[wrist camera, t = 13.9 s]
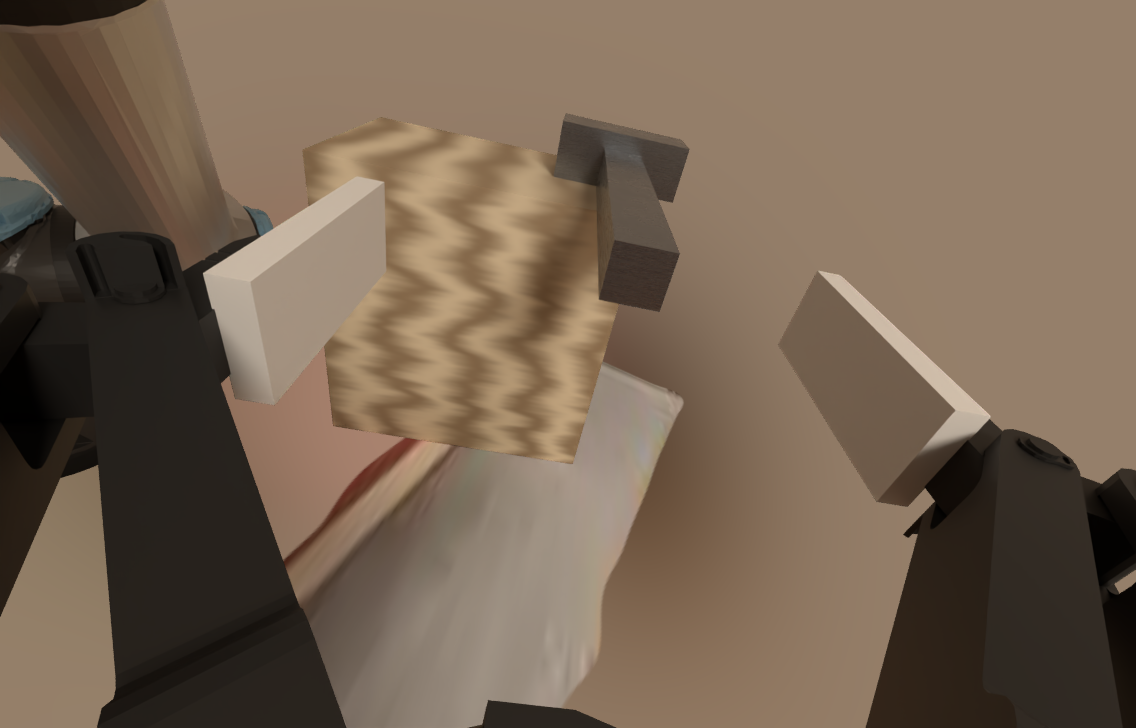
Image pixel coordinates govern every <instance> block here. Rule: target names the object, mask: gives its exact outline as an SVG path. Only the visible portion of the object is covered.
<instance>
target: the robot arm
mask: <svg viewBox="0 0 1136 728" xmlns="http://www.w3.org/2000/svg"><path fill="white" fill-rule="evenodd" d="M0 136H1V138H2V139H3V140H4V141H5V142H6V143H7V144H8V145H9V147H10V148H11V149H12V150H13V151H14V152H15V153H16V154H17V155H18V156H19V158H20V159H21V160H22V161H23V162H24V163H25V164H26V165H27V166H28V167H29V169H30V170H31V171H32V172H33V173H34V174H35V175H36V176H37V177H38V178H39V180H40V181H41V182H42V183H43V184H44V185H45V186H46V187H47V188H48V189H49V191H50V192H51V193H52V194H53V195H54V196H55V197H56V198H57V199H58V200H59V202H60V203H61V204H62V205H55V204H54V201H53V198H52V197H51V195H50V194H48V193H47V192H46V191H45V189H44V188H43V187H41V186H40V185H38V184H36V183H34V182H31V181H27V180H18V179H16V178H11V177H10V178H9V177H0V616H1V614H2V612H3V609H4V607H5V605H6V602H7V600H8V598H9V595H10V593H11V591H12V588H13V586H14V584H15V581H16V579H17V577H18V574H19V572H20V570H21V567H22V565H23V563H24V561H25V558H26V556H27V553H28V551H29V549H30V546H31V544H32V542H33V540H34V537H35V535H36V533H37V530H38V528H39V526H40V523H41V521H42V519H43V517H44V514H45V512H46V510H47V507H48V505H49V503H50V500H51V498H52V496H53V493H54V491H55V489H56V486H57V484H58V482H59V479H60V478H62V477H65V476H69V475H72V474H75V473H78V472H81V471H84V470H86V469H89V468H91V467H94V466H96V465H98V468H99V480H100V491H101V504H102V516H103V528H104V540H105V553H106V565H107V577H108V590H109V602H110V613H111V626H112V638H113V651H114V662H115V675H116V690H115V695H114V699H113V700H111V701H110V702H109V703H108V704H106V705H105V706H104V707H103V708H102V710H101V714H100V718H99V721H98V725H97V728H346V725H345V722H344V720H343V717H342V714H341V711H340V708H339V706H338V703H337V700H336V697H335V694H334V692H333V689H332V686H331V683H330V680H329V678H328V675H327V672H326V669H325V666H324V664H323V661H322V658H321V655H320V652H319V650H318V647H317V644H316V641H315V638H314V636H313V633H312V630H311V628H310V625H309V622H308V620H307V617H306V615H305V613H304V611H303V609H302V608H300V606H299V604H298V601H297V599H296V596H295V593H294V591H293V588H292V585H291V582H290V579H289V576H288V574H287V571H286V568H285V565H284V562H283V559H282V557H281V554H280V551H279V548H278V545H277V543H276V540H275V537H274V534H273V531H272V528H271V525H270V522H269V520H268V517H267V514H266V511H265V508H264V505H263V503H262V500H261V497H260V494H259V491H258V488H257V486H256V483H255V480H254V477H253V474H252V471H251V469H250V466H249V463H248V460H247V457H246V454H245V451H244V449H243V446H242V443H241V440H240V438H239V434H238V432H237V429H236V426H235V423H234V420H233V417H232V415H231V412H230V409H229V406H228V403H227V400H226V397H225V395H224V392H223V389H222V386H221V383H222V382H223V381H224V380H225V379H226V378H227V377H228V376H229V377H230V381H231V385H232V389H233V392H234V396H235V399H240V400H246V401H252V402H258V403H264V404H271V405H275V404H276V403H277V402H278V401H279V400H280V398H281V397H282V396H283V395H284V393H285V392H286V391H287V390H288V389H289V388H290V386H291V385H292V384H293V383H294V381H295V380H296V379H297V378H298V377H299V375H300V374H301V373H302V372H303V371H304V369H305V368H306V367H307V366H308V365H309V363H310V362H311V361H312V360H313V359H314V357H315V356H316V355H317V354H318V353H319V351H320V350H321V349H322V348H323V346H324V345H325V344H326V343H327V342H328V341H329V339H330V338H331V337H332V336H333V335H334V333H335V332H336V331H337V330H338V328H339V327H340V326H341V325H342V324H343V322H344V321H345V320H346V319H347V318H348V316H349V315H350V314H351V313H352V312H353V310H354V309H355V308H356V307H357V306H358V304H359V303H360V302H361V301H362V300H363V298H364V297H365V296H366V295H367V294H368V292H369V291H370V290H371V289H372V288H373V286H374V285H375V284H376V283H377V282H378V280H379V279H380V278H381V277H382V275H383V274H384V273H385V272H386V234H385V186H384V182H382V181H377V180H372V179H368V178H363V177H358V176H357V177H355V178H353V179H352V180H350V181H349V182H347V183H345V184H344V185H342V186H341V187H339V188H337V189H336V190H334V191H333V192H331V193H330V194H328V195H326V196H325V197H323V198H322V199H320V200H318V201H317V202H315V203H314V204H312V205H310V206H309V207H307V208H306V209H304V210H302V211H301V212H299V213H298V214H296V215H295V216H293V217H291V218H290V219H288V220H287V221H285V222H283V223H282V224H280V225H279V226H277V227H275V228H274V229H273V225H272V223H271V221H270V218H269V217H268V215H267V214H266V213H265V212H263V211H261V210H259V209H251V208H249V207H247V206H242V205H241V204H240V203H239V202H238V201H237V200H236V199H235V198H233V197H232V196H231V195H230V194H229V193H227V192H226V191H224V190H223V189H222V187H221V184H220V181H219V178H218V175H217V171H216V168H215V165H214V162H213V158H212V155H211V151H210V148H209V145H208V142H207V138H206V135H205V132H204V129H203V125H202V122H201V119H200V116H199V113H198V109H197V106H196V103H195V100H194V96H193V93H192V90H191V86H190V83H189V80H188V77H187V74H186V70H185V67H184V64H183V60H182V57H181V54H180V50H179V47H178V44H177V41H176V37H175V34H174V31H173V28H172V24H171V21H170V18H169V15H168V12H167V8H166V5H165V2H164V0H0ZM778 345H779V347H780V349H781V350H782V352H783V354H784V355H785V357H786V358H787V360H788V361H789V363H790V365H791V366H792V368H793V370H794V371H795V373H796V374H797V376H798V378H799V379H800V381H801V382H802V384H803V385H804V387H805V389H806V390H807V392H808V393H809V395H810V397H811V398H812V400H813V401H814V403H815V405H816V406H817V407H818V409H819V411H820V412H821V414H822V416H823V417H824V419H825V420H826V422H827V424H828V425H829V427H830V428H831V430H832V432H833V433H834V435H835V436H836V438H837V440H838V441H839V443H840V444H841V446H842V448H843V449H844V451H845V452H846V454H847V456H848V457H849V459H850V460H851V462H852V463H853V465H854V467H855V468H856V470H857V472H858V473H859V475H860V476H861V478H862V479H863V481H864V483H865V484H866V486H867V488H868V489H869V491H870V492H871V494H872V495H873V497H874V499H875V500H876V502H881V503H887V504H894V505H899V506H905V507H908V506H909V505H910V504H911V503H912V502H913V500H914V499H915V498H916V497H917V496H918V495H919V494H920V493H921V492H922V491H923V490H924V489H925V488H926V490H927V491H928V492H929V494H930V495H931V496H932V498H933V499H934V500H935V502H934V503H933V504H932V505H931V506H930V507H929V508H928V509H927V510H926V511H925V512H924V513H923V514H922V515H921V516H920V517H919V518H918V520H916V522H915V523H914V524H913V525H912V526H911V527H910V528H909V529H908V530H907V531H906V532H905V533H904V534H903V535H905V536H906V537H910V536H911V535H912V534H918V536H917V540H916V543H915V547H914V551H913V555H912V558H911V562H910V566H909V569H908V573H907V577H906V580H905V584H904V588H903V591H902V595H901V599H900V603H899V606H898V610H897V614H896V617H895V621H894V625H893V629H892V632H891V636H890V640H889V643H888V647H887V651H886V654H885V658H884V662H883V666H882V669H881V673H880V677H879V680H878V684H877V688H876V692H875V695H874V699H873V703H872V706H871V710H870V714H869V718H868V722H867V725H866V728H1136V582H1135V583H1134V584H1133V585H1132V586H1131V587H1129V588H1128V589H1126V590H1125V591H1123V592H1121V593H1120V594H1119V592H1118V590H1117V588H1116V587H1115V585H1114V584H1115V583H1116V582H1118V581H1119V580H1121V579H1122V578H1123V577H1125V576H1127V575H1128V574H1130V573H1131V572H1133V571H1134V570H1136V471H1135V470H1132V469H1120V470H1119V471H1118V472H1116V473H1115V474H1114V475H1112V476H1111V477H1110V478H1109V479H1108V480H1106V481H1105V482H1104V483H1103V484H1100V483H1097V482H1095V481H1092V480H1089V479H1086V478H1084V477H1081V476H1080V471H1079V470H1078V468H1077V466H1076V464H1075V463H1074V462H1073V460H1072V459H1071V458H1069V457H1068V456H1066V455H1065V454H1064V453H1062V452H1061V451H1060V450H1059V449H1058V448H1057V447H1055V446H1054V445H1053V444H1051V443H1049V442H1048V441H1046V440H1043V439H1041V438H1038V437H1035V436H1032V435H1030V434H1028V433H1025V432H1022V431H1018V430H1014V429H1007V430H1004V431H1002V430H1001V429H999V428H998V427H997V426H996V425H995V424H994V423H993V422H992V421H991V420H990V417H991V416H990V415H989V414H988V413H987V412H986V411H985V410H984V409H983V408H981V407H980V406H979V405H978V404H977V403H976V402H975V401H974V400H973V399H972V398H971V397H970V396H969V395H968V394H967V393H965V392H964V391H963V390H962V389H961V388H960V387H959V386H958V385H957V384H956V383H955V382H954V381H953V380H952V379H951V378H949V377H948V376H947V375H946V374H945V373H944V372H943V371H942V370H941V369H940V368H939V367H938V366H937V365H936V364H935V363H933V362H932V361H931V360H930V359H929V358H928V357H927V356H926V355H925V354H924V353H923V352H922V351H921V350H920V349H918V348H917V347H916V346H915V345H914V344H913V343H912V342H911V341H910V340H909V339H908V338H907V337H906V336H905V335H903V334H902V333H901V332H900V331H899V330H898V329H897V328H896V327H895V326H894V325H893V324H892V323H891V322H890V321H889V320H888V319H886V318H885V317H884V316H883V315H882V314H881V313H880V312H879V311H878V310H877V309H876V308H875V307H874V306H873V305H872V304H870V303H869V302H868V301H867V300H866V299H865V298H864V297H863V296H862V295H861V294H860V293H859V292H858V291H857V290H856V289H855V288H853V287H852V286H851V285H850V284H849V283H848V282H847V281H846V280H845V279H844V278H843V277H842V276H840V275H836V274H831V273H826V272H821V271H817V272H816V274H815V276H814V278H813V280H812V282H811V284H810V286H809V287H808V289H807V291H806V293H805V295H804V297H803V299H802V301H801V302H800V305H799V306H798V308H797V310H796V312H795V314H794V316H793V317H792V319H791V322H790V323H789V325H788V327H787V329H786V331H785V332H784V334H783V336H782V338H781V340H780V342H779V344H778ZM469 728H616V727H613V726H611V725H609V724H607V723H604V722H602V721H600V720H597V719H595V718H593V717H590V716H588V715H586V714H583V713H581V712H579V711H576V710H570V709H562V708H553V707H544V706H535V705H526V704H517V703H508V702H499V701H490V700H488V703H487V707H486V711H485V715H484V719H483V723H482V725H478V726H474V727H469Z"/></svg>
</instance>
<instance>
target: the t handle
mask: <svg viewBox="0 0 1136 728" xmlns="http://www.w3.org/2000/svg"><path fill="white" fill-rule="evenodd" d="M688 153H689V148H688V147H687V146H686V145H685V143H684V142H683V141H682V140H680V139H676V138H672V137H667V136H663V135H658V134H654V133H650V132H645V131H641V130H636V129H632V128H628V127H623V126H619V125H614V124H610V123H606V122H601V121H596V120H592V119H588V118H584V117H579V116H575V115H570V114H565V117H564V120H563V125H562V130H561V136H560V142H559V148H558V154H557V159H556V165H555V171H554V177H557V178H561V179H566V180H570V181H575V182H580V183H584V184H589V185H594V186H596V200H597V244H598V289H599V300H602V301H607V302H612V303H617V304H623V305H627V306H632V307H638V308H642V309H648V310H653V311H658V312H660V309H661V306H662V304H663V301H664V298H665V294H666V292H667V289H668V286H669V283H670V281H671V278H672V275H673V272H674V269H675V266H676V263H677V260H678V258H679V254H680V253H679V250H678V248H677V245H676V243H675V241H674V238H673V235H672V233H671V230H670V228H669V226H668V223H667V220H666V218H665V215H664V213H663V210H662V208H661V205H660V203H659V201H658V200H663V201H667V202H673V200H674V196H675V193H676V190H677V187H678V184H679V181H680V178H681V175H682V171H683V168H684V165H685V162H686V159H687V155H688Z"/></svg>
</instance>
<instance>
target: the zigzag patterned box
mask: <svg viewBox="0 0 1136 728" xmlns="http://www.w3.org/2000/svg"><path fill="white" fill-rule="evenodd" d="M303 159H304V168H305V176H306V186H307V194H308V204H309V206H310V205H312V204H314V203H315V202H317V201H318V200H320V199H322V198H323V197H325V196H326V195H328V194H330V193H331V192H333V191H334V190H336V189H337V188H339V187H341V186H342V185H344V184H345V183H347V182H349V181H350V180H352V179H353V178H355V177H357V176H358V177H363V178H368V179H372V180H377V181H382V182H384V186H385V234H386V272H385V273H384V274H383V275H382V277H381V278H380V279H379V280H378V282H377V283H376V284H375V285H374V286H373V288H372V289H371V290H370V291H369V292H368V294H367V295H366V296H365V297H364V298H363V300H362V301H361V302H360V303H359V304H358V306H357V307H356V308H355V309H354V310H353V312H352V313H351V314H350V315H349V316H348V318H347V319H346V320H345V321H344V322H343V324H342V325H341V326H340V327H339V328H338V330H337V331H336V332H335V333H334V335H333V336H332V337H331V338H330V339H329V341H328V342H327V343H326V344H325V345H324V348H325V357H326V365H327V375H328V384H329V393H330V402H331V410H332V418H333V426H336V427H342V428H349V429H355V430H361V431H368V432H374V433H380V434H386V435H392V436H399V437H405V438H411V439H418V440H424V441H430V442H437V443H443V444H449V445H456V446H462V447H468V448H475V449H481V450H487V451H493V452H500V453H506V454H512V455H519V456H525V457H531V458H538V459H544V460H550V461H557V462H563V463H569V464H573V461H574V457H575V454H576V451H577V447H578V444H579V440H580V437H581V433H582V430H583V426H584V423H585V419H586V416H587V413H588V409H589V406H590V402H591V399H592V395H593V392H594V388H595V385H596V381H597V378H598V375H599V371H600V368H601V364H602V361H603V357H604V354H605V350H606V347H607V344H608V340H609V337H610V333H611V329H612V326H613V323H614V319H615V316H616V312H617V309H618V305H619V304H617V303H612V302H607V301H602V300H599V289H598V244H597V200H596V186H594V185H589V184H584V183H580V182H575V181H570V180H566V179H561V178H557V177H554V171H555V165H556V159H557V155H553V154H548V153H544V152H539V151H535V150H530V149H525V148H521V147H516V146H511V145H507V144H502V143H498V142H493V141H488V140H483V139H479V138H475V137H470V136H465V135H460V134H456V133H451V132H447V131H442V130H438V129H433V128H428V127H424V126H419V125H415V124H410V123H405V122H401V121H396V120H392V119H387V118H382V117H381V118H378V119H376V120H373V121H371V122H368V123H366V124H364V125H361V126H359V127H356V128H354V129H351V130H349V131H347V132H344V133H342V134H339V135H337V136H334V137H332V138H330V139H327V140H325V141H322V142H320V143H318V144H315V145H313V146H310V147H308V148H305V149H303Z"/></svg>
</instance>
